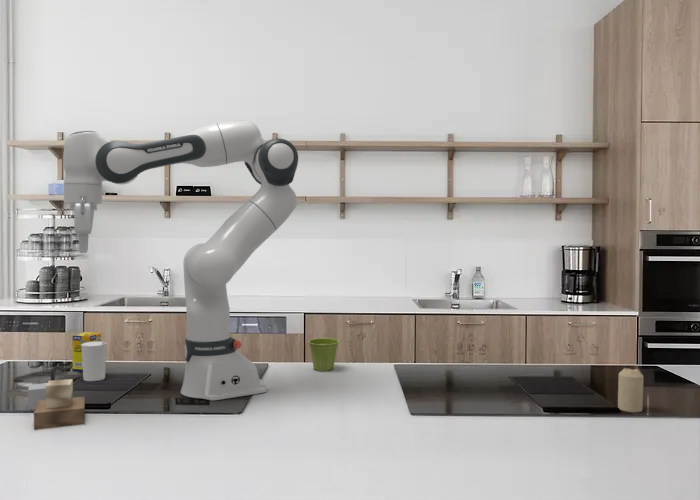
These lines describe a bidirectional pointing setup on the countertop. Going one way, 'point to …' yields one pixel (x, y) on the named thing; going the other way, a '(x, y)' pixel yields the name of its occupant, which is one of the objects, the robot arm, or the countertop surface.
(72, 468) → the countertop surface
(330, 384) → the countertop surface
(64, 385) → the ash block
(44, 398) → the grey block
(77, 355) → the supplement box
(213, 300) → the robot arm
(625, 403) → the beige jar
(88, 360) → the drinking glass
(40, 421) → the walnut block
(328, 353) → the plant pot
